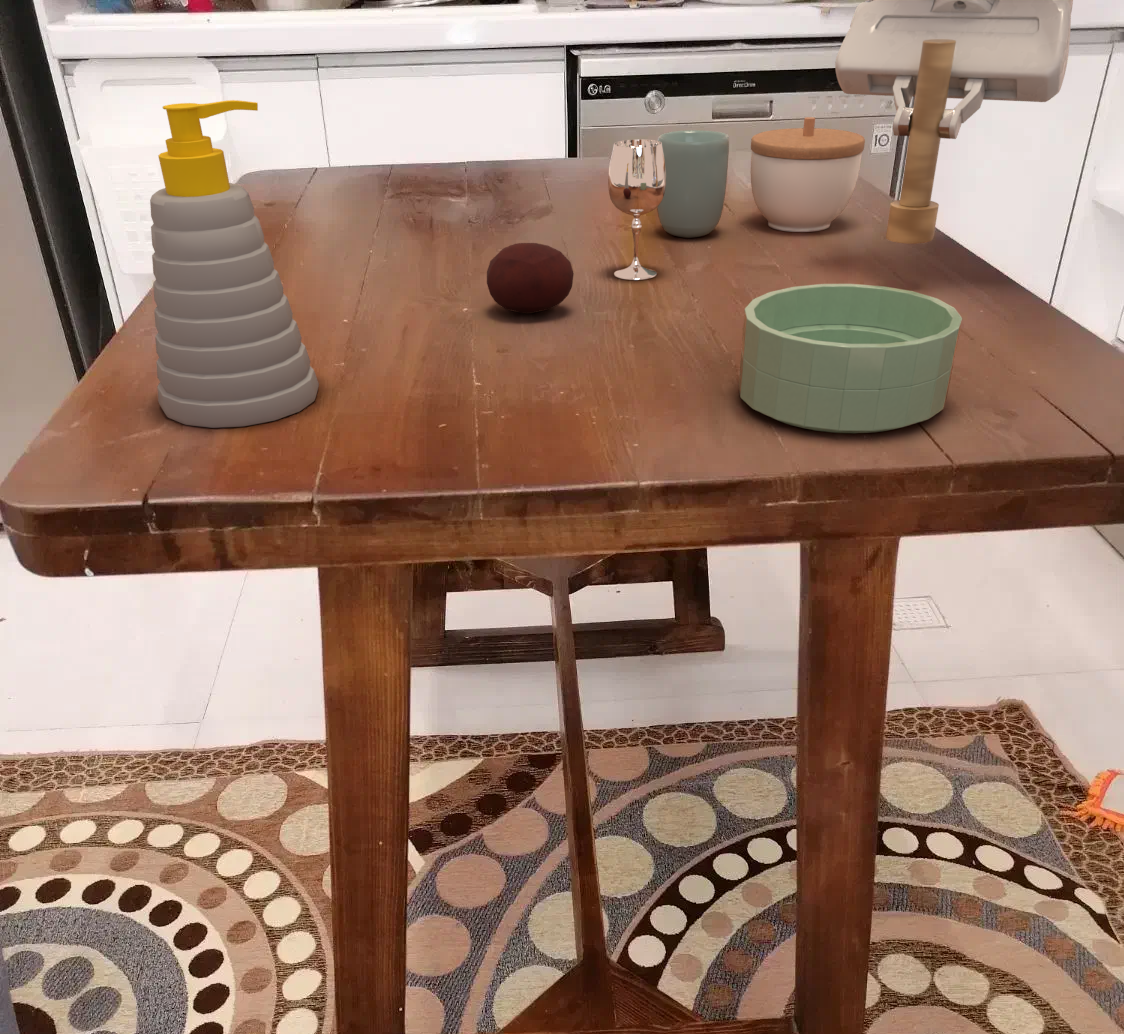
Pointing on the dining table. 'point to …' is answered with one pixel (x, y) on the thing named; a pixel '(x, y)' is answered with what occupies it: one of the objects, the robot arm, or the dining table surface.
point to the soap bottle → (218, 292)
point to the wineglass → (637, 190)
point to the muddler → (923, 147)
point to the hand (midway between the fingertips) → (923, 133)
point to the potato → (529, 277)
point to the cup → (693, 181)
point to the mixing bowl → (847, 356)
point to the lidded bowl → (804, 175)
